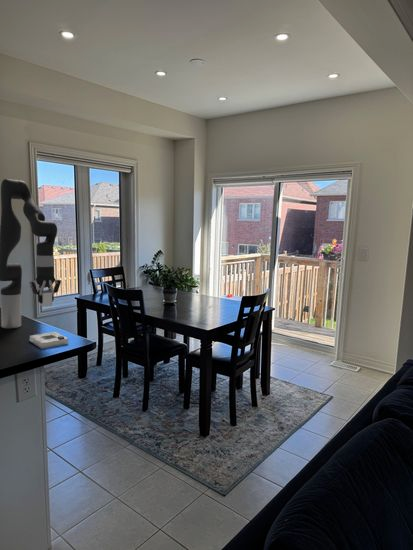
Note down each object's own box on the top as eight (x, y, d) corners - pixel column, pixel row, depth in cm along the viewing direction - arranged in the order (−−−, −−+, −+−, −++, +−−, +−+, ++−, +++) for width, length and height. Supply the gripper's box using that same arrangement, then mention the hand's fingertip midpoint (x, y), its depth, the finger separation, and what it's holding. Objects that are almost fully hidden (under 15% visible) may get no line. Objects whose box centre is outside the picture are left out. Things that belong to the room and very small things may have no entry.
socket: (29, 341, 175) (29, 334, 175) (55, 336, 183) (55, 330, 183) (41, 348, 165) (41, 341, 165) (68, 343, 173) (68, 337, 173)
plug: (39, 305, 174) (39, 290, 174) (48, 304, 177) (48, 289, 177) (43, 306, 172) (43, 291, 171) (52, 305, 174) (51, 290, 174)
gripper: (57, 264, 180) (57, 299, 182) (25, 265, 170) (26, 303, 172) (64, 265, 175) (64, 302, 177) (32, 266, 165) (33, 305, 167)
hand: (45, 302), depth 174 cm, fingers closed on plug, 4 cm apart
